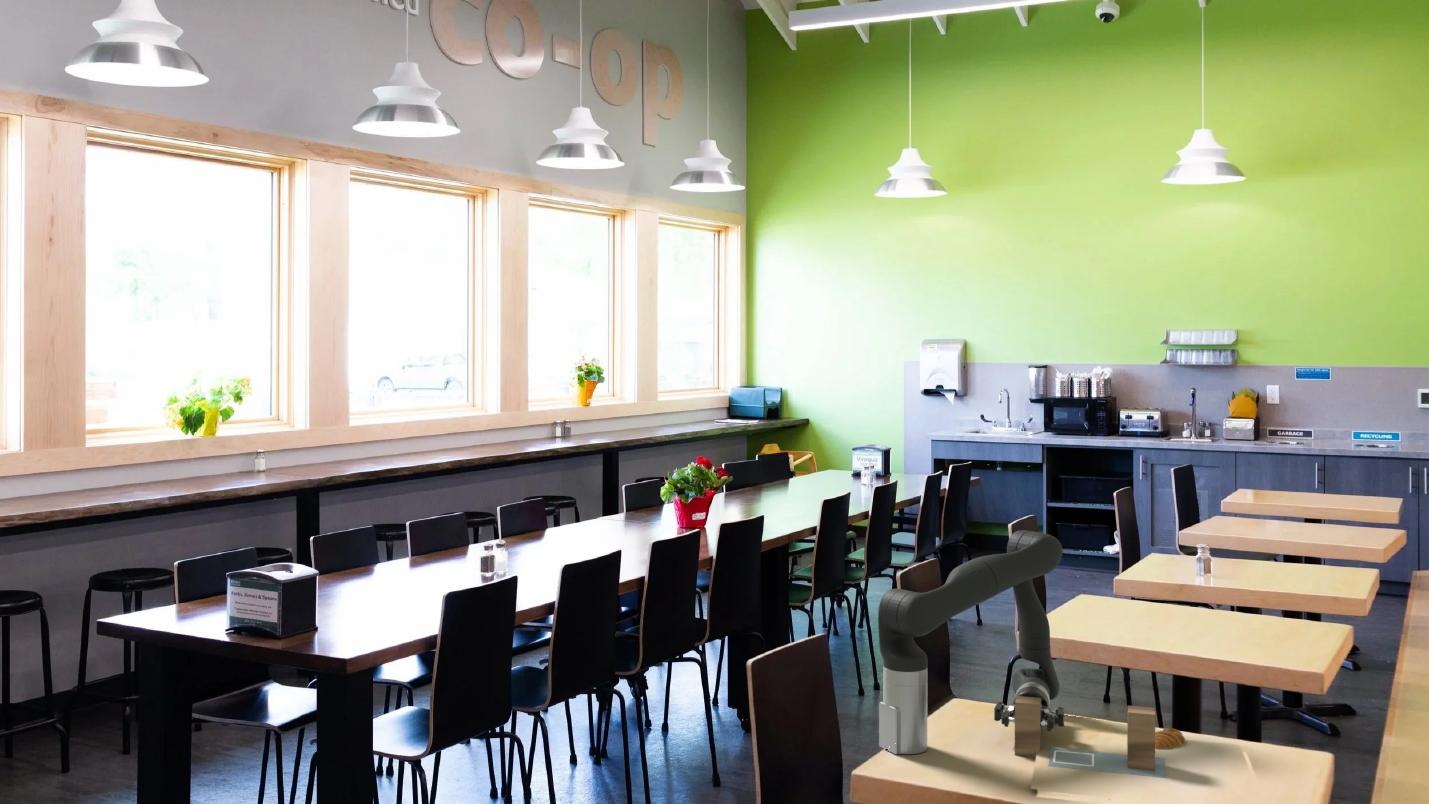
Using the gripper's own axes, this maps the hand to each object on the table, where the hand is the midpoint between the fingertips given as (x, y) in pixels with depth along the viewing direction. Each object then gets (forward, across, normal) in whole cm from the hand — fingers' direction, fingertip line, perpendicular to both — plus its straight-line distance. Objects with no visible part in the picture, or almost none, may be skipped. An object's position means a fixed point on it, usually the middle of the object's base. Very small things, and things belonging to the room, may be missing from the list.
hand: (1027, 724), depth 238 cm
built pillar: (+3, +22, +5) cm, 23 cm away
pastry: (-14, +28, +7) cm, 32 cm away
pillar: (-2, 0, +6) cm, 7 cm away
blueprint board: (+3, +16, +6) cm, 17 cm away
